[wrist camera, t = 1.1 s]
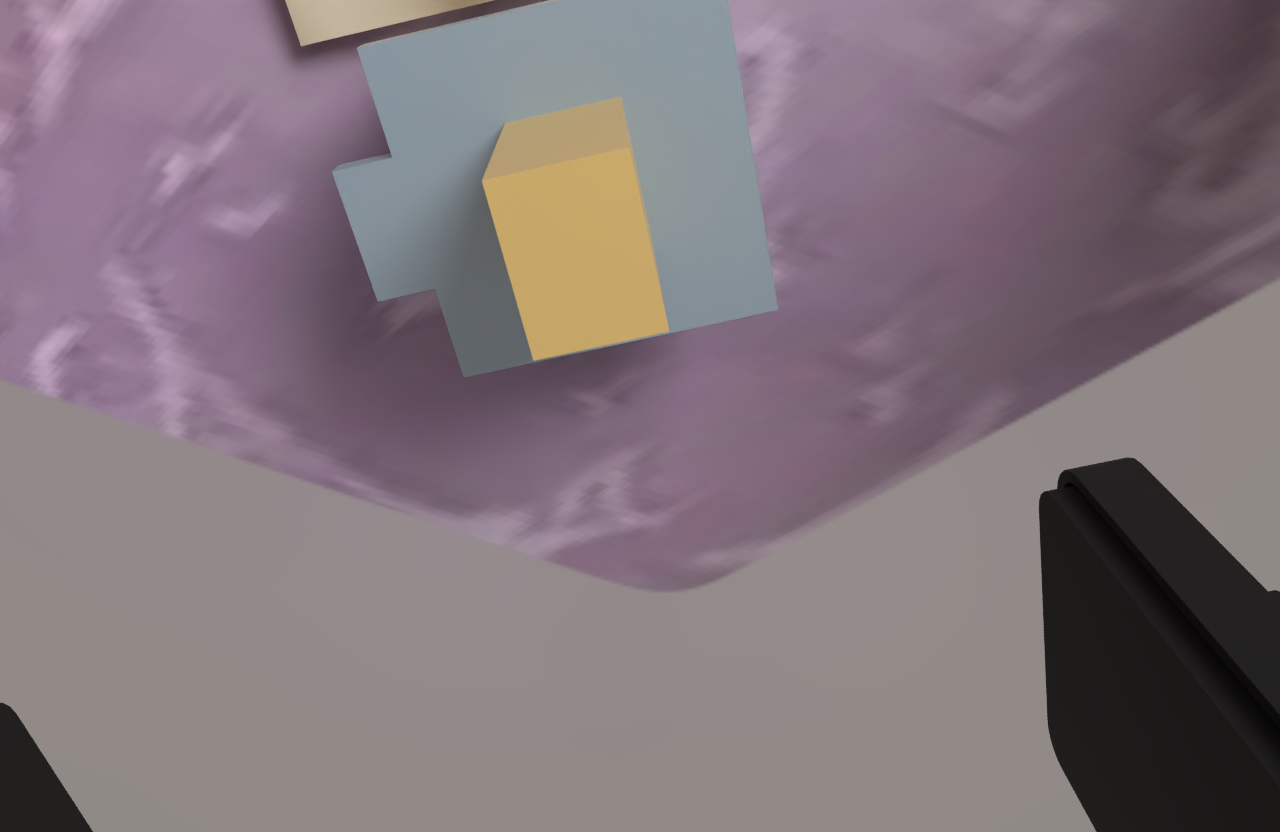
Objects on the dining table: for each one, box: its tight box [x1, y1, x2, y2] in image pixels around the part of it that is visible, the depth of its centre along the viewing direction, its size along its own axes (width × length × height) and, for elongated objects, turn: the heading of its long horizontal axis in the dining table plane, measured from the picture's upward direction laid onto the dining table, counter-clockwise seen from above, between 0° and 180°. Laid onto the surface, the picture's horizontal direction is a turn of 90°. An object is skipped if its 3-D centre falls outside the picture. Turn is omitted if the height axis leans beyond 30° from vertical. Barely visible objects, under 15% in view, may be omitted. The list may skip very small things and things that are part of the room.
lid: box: [332, 0, 778, 378], centre depth 24 cm, size 11×9×7 cm
